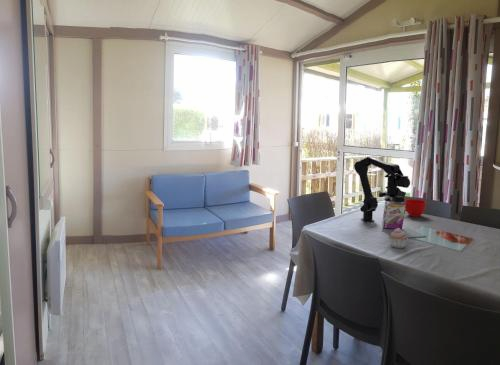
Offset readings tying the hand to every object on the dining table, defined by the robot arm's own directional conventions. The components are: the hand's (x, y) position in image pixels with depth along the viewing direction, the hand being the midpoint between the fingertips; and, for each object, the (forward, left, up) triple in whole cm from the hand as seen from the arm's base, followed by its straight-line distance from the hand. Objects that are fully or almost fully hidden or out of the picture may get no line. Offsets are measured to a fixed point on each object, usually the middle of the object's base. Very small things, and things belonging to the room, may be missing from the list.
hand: (390, 210), depth 236 cm
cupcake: (+34, -16, -10) cm, 39 cm away
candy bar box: (+2, 0, -10) cm, 10 cm away
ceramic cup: (-23, +30, -10) cm, 39 cm away
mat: (+14, 0, -10) cm, 18 cm away
